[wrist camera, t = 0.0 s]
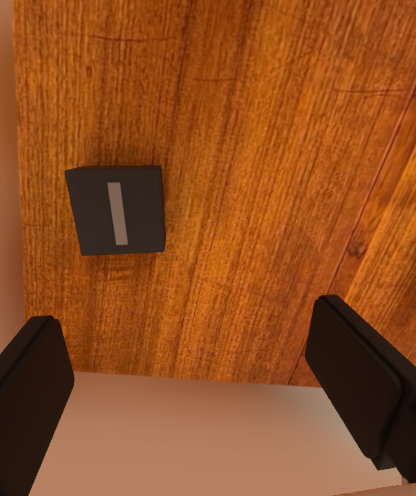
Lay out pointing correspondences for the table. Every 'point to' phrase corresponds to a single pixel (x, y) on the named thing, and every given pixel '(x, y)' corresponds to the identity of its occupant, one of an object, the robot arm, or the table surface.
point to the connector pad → (117, 209)
